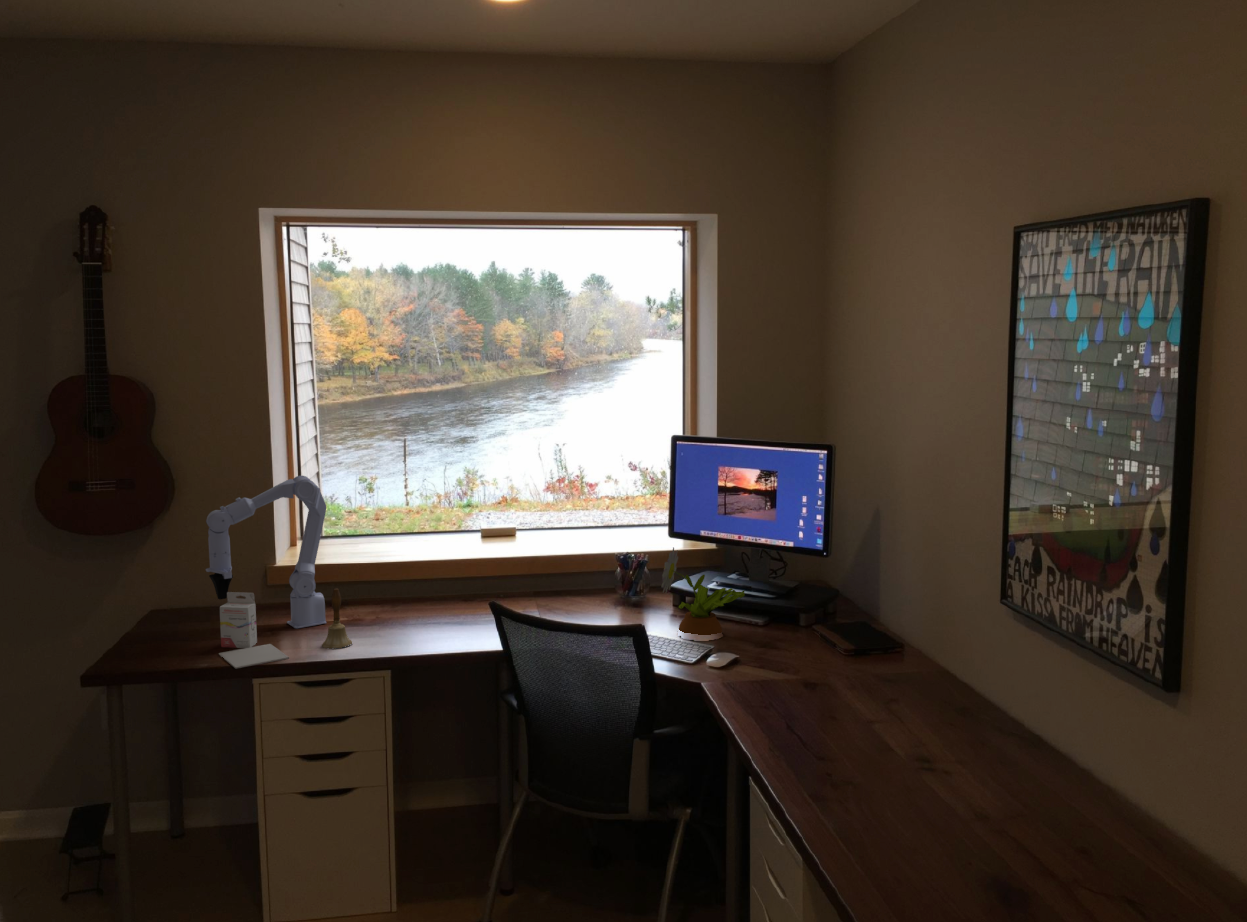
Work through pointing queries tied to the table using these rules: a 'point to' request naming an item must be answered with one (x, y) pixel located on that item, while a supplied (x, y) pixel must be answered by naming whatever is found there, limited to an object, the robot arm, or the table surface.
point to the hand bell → (336, 626)
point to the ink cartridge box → (238, 621)
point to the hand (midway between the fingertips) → (222, 598)
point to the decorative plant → (698, 602)
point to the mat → (253, 656)
